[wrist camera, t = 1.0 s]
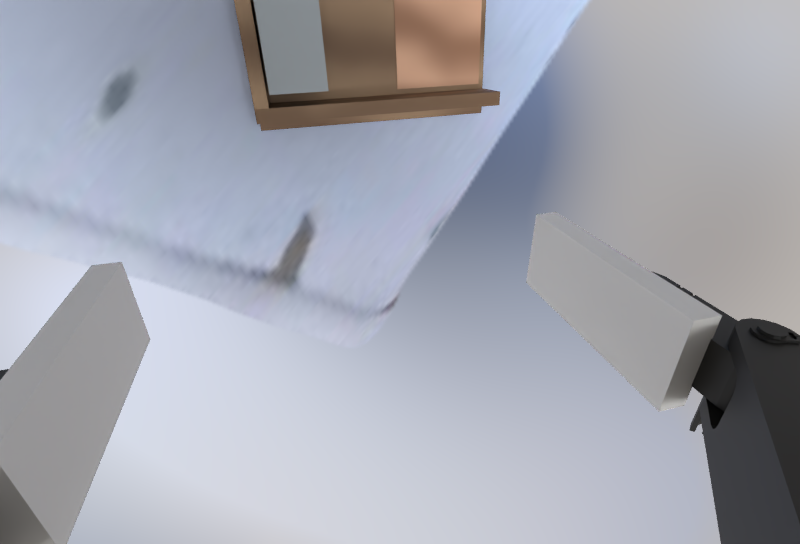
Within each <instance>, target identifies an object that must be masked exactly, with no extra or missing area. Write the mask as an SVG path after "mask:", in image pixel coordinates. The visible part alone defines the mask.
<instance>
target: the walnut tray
mask: <svg viewBox="0 0 800 544" xmlns="http://www.w3.org/2000/svg"><path fill="white" fill-rule="evenodd" d="M234 3H235V9H236V14H237V19H238V24H239V30H240V35H241V40H242V46H243V51H244V56H245V62H246V67H247V72H248V78H249V83H250V88H251V94H252V99H253V104H254V110H255V115H256V120H257V124H260V126H261V131H264V130H276V129H288V128H300V127H312V126H325V125H337V124H349V123H361V122H373V121H386V120H398V119H410V118H422V117H435V116H447V115H459V114H471V113H481V106H493V105H499V100H500V92H499V91H493V90H488V89H482V80H483V57H484V35H485V12H486V0H319V8H320V17H321V26H322V35H323V45H324V54H325V63H326V72H327V81H328V90H329V91H323V92H308V93H293V94H278V95H269V89H268V83H267V77H266V71H265V65H264V59H263V53H262V48H261V42H260V36H259V30H258V24H257V18H256V12H255V6H254V0H234Z"/></svg>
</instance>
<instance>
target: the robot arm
mask: <svg viewBox="0 0 800 544" xmlns="http://www.w3.org/2000/svg"><path fill="white" fill-rule="evenodd" d="M526 283H527V284H529V285H530V287H531V288H532V289H534V290H535V291H536V292H537V293H538V294H539V295H540V296H541V297H542V298H543V299H544V300H545V301H546V302H547V303H548V304H549V305H550V306H551V307H552V308H553V309H554V310H555V311H556V312H557V313H559V315H560V316H561V317H562V318H563V319H564V320H565V321H566V322H567V323H569V324H570V325H571V326H572V327H573V328H574V329H575V330H576V331H577V332H578V333H579V334H580V335H581V336H582V337H583V338H584V339H585V340H586V341H587V342H588V343H589V344H590V345H591V346H592V347H593V348H594V349H595V350H596V351H597V352H598V353H599V354H600V355H601V356H602V357H604V359H605V360H607V361H608V362H609V363H610V364H611V365H612V366H613V367H614V368H615V369H616V370H617V371H618V372H619V373H620V374H621V375H622V376H623V377H624V378H625V379H626V380H627V381H628V382H629V383H630V384H631V385H632V386H633V387H634V388H635V389H636V390H637V391H638V392H639V393H640V394H641V395H642V396H644V397H645V398H646V399H647V400H648V401H649V402H650V403H651V404H652V405H653V406H654V407H655V408H656V409H657V410H658V411H663V410H667V409H671V408H676V407H680V406H684V405H685V402H686V400H687V398H688V395H689V393H690V390H691V388H692V387H694V388H695V389H696V390H697V391H698V392H700V393H701V394H702V395H703V398H702V400H701V403H700V405H699V407H698V410H697V412H696V414H695V416H694V418H693V421H692V423H691V426H690V431H695V430H696V428H697V426H698V425H699V424H702V428H703V432H702V434H703V435H704V441H705V447H706V453H707V459H708V466H709V472H710V478H711V484H712V490H713V496H714V502H715V509H716V514H717V521H718V527H719V533H720V540H721V544H800V335H798V334H797V333H795V332H794V331H792V330H790V329H788V328H786V327H784V326H781V325H779V324H776V323H772V322H769V321H765V320H760V319H752V318H751V319H742V320H740V321H737V320H735V319H734V318H732V317H730V316H729V315H727V314H726V313H724V312H722V311H721V310H719V309H717V308H716V307H714V306H712V305H711V304H709V303H708V302H706V301H704V300H702V299H701V298H699V297H698V296H696V295H695V296H693V294H692V293H691V292H690V291H688V290H686V289H685V288H681V287H680V285H678V284H676V283H675V282H673V281H672V280H670V279H668V278H667V277H665V276H662V275H660V274H657V273H655V272H652V271H650V270H648V269H646V268H645V267H643V266H642V265H640V264H638V263H636V262H635V261H634V260H632V259H630V258H629V257H627V256H626V255H624V254H622V253H621V252H619V251H618V250H616V249H614V248H613V247H611V246H609V245H608V244H606V243H604V242H603V241H601V240H600V239H598V238H596V237H595V236H593V235H592V234H590V233H589V232H587V231H585V230H584V229H582V228H580V227H579V226H577V225H576V224H574V223H572V222H571V221H569V220H568V219H566V218H564V217H563V216H561V215H559V214H558V213H556V212H553V213H544V214H537V215H536V221H535V227H534V235H533V241H532V248H531V254H530V261H529V268H528V274H527V281H526ZM149 341H150V338H149V335H148V332H147V329H146V327H145V324H144V321H143V318H142V316H141V313H140V310H139V308H138V305H137V302H136V300H135V297H134V294H133V291H132V289H131V286H130V283H129V280H128V278H127V275H126V272H125V269H124V267H123V264H122V262H117V263H109V264H100V265H92V266H91V267H90V268H89V269H88V271H87V272H86V273H85V274H84V276H83V277H82V278H81V279H80V281H79V282H78V283H77V285H76V286H75V287H74V288H73V290H72V291H71V292H70V293H69V295H68V296H67V297H66V298H65V300H64V301H63V302H62V303H61V305H60V306H59V307H58V308H57V310H56V311H55V312H54V313H53V315H52V316H51V317H50V318H49V320H48V321H47V322H46V323H45V325H44V326H43V327H42V328H41V330H40V331H39V332H38V334H37V335H36V336H35V337H34V339H33V340H32V341H31V342H30V344H29V345H28V346H27V347H26V349H25V350H24V351H23V353H22V354H21V355H20V356H19V357H18V359H17V360H16V361H15V362H14V364H13V365H12V366H11V367H10V369H7V370H1V371H0V544H67V542H68V539H69V537H70V535H71V532H72V529H73V527H74V525H75V522H76V520H77V517H78V515H79V513H80V510H81V508H82V505H83V503H84V500H85V498H86V495H87V493H88V491H89V488H90V486H91V483H92V481H93V478H94V476H95V473H96V471H97V468H98V466H99V464H100V461H101V459H102V456H103V454H104V451H105V449H106V446H107V444H108V442H109V439H110V437H111V434H112V432H113V429H114V427H115V424H116V422H117V419H118V417H119V415H120V412H121V410H122V407H123V405H124V402H125V400H126V397H127V395H128V393H129V390H130V388H131V385H132V383H133V380H134V378H135V375H136V373H137V370H138V368H139V365H140V363H141V361H142V358H143V356H144V353H145V351H146V348H147V346H148V343H149Z"/></svg>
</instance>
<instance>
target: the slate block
mask: <svg viewBox="0 0 800 544" xmlns="http://www.w3.org/2000/svg"><path fill="white" fill-rule="evenodd" d="M254 6H255V12H256V18H257V24H258V30H259V36H260V42H261V48H262V53H263V59H264V65H265V71H266V77H267V83H268V89H269V95H278V94H293V93H308V92H323V91H329V90H328V81H327V72H326V63H325V54H324V45H323V35H322V26H321V17H320V8H319V0H254Z"/></svg>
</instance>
